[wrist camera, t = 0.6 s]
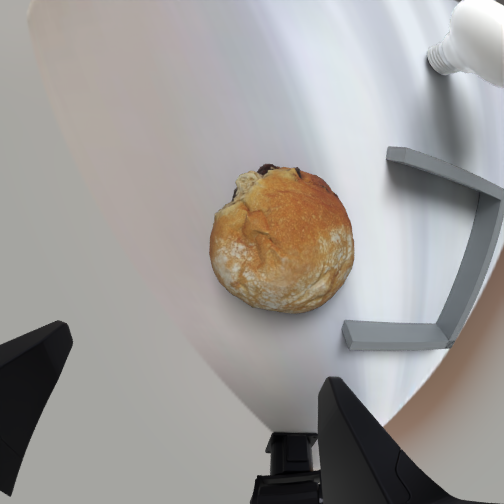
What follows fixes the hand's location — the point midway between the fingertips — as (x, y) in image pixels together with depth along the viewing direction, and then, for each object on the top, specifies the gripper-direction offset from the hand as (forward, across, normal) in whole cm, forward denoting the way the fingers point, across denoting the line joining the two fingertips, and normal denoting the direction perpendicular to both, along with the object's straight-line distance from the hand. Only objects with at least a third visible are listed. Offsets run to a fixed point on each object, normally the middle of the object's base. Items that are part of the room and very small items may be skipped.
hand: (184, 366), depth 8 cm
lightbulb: (+14, -14, -18) cm, 26 cm away
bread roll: (+14, -4, 0) cm, 14 cm away
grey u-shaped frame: (+13, -16, -1) cm, 21 cm away
